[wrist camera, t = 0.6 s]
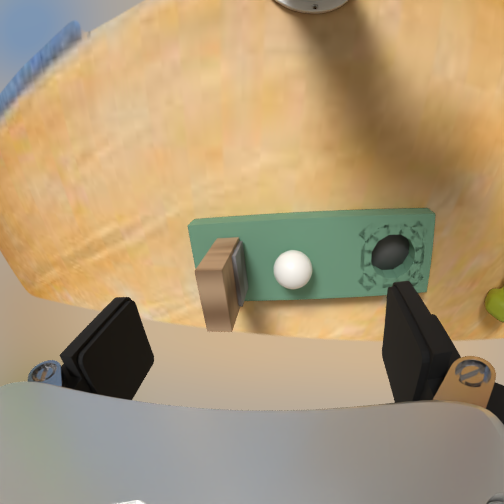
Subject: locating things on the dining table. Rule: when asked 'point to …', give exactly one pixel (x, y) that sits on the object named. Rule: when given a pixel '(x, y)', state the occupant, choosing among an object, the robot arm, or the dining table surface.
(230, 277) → the upright wooden plank
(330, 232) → the putting mat
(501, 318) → the dumbbell
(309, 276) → the ball
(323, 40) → the dining table surface
